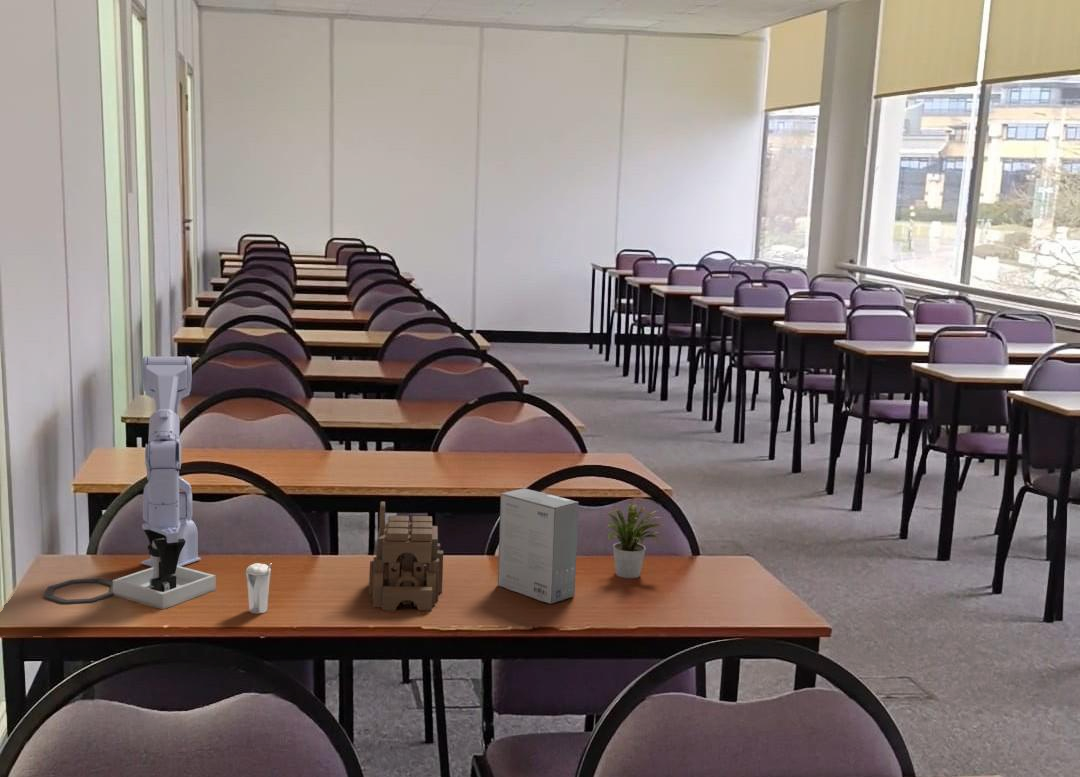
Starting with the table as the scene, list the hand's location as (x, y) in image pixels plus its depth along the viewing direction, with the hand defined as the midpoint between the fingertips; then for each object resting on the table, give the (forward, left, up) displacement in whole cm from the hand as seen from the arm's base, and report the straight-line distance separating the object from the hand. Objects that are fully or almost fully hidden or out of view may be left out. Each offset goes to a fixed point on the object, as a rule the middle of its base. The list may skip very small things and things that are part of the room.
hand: (164, 568), depth 224 cm
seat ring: (+9, -13, -5) cm, 17 cm away
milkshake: (-3, +22, -5) cm, 23 cm away
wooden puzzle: (-28, +38, -5) cm, 47 cm away
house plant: (-64, +70, -5) cm, 95 cm away
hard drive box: (-44, +59, -5) cm, 74 cm away
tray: (0, 0, -5) cm, 5 cm away
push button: (+1, 0, -5) cm, 5 cm away
